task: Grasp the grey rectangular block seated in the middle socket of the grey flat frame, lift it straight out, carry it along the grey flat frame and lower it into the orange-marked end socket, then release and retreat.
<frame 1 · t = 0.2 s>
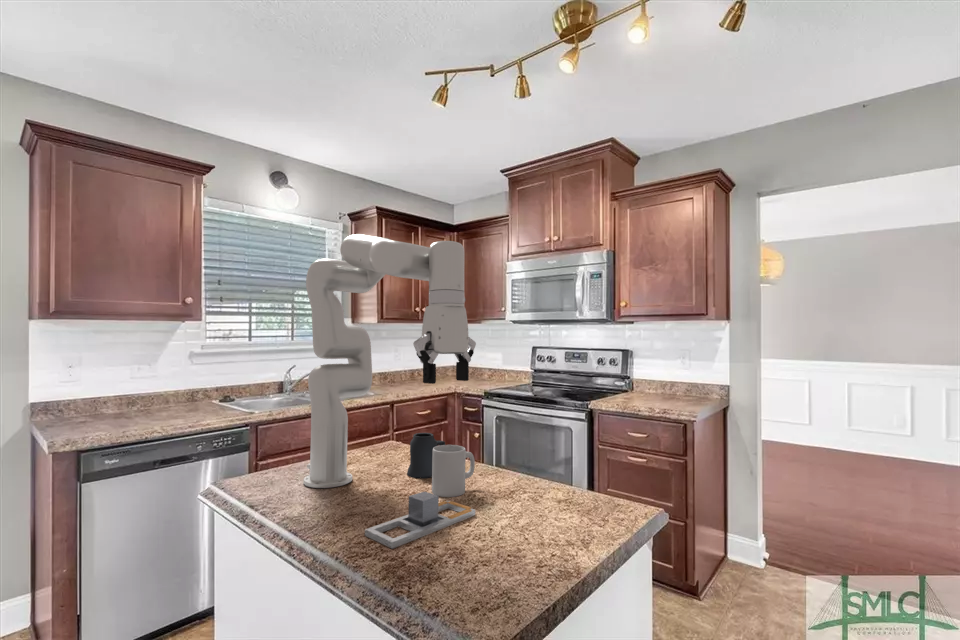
hand: (446, 381, 99), 30 cm above the countertop, fingers open, 9 cm apart
mug: (454, 491, 122), on the countertop
grey flat frame: (423, 524, 99), on the countertop
grey rectangular block: (423, 525, 99), resting in grey flat frame
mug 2: (426, 473, 137), on the countertop
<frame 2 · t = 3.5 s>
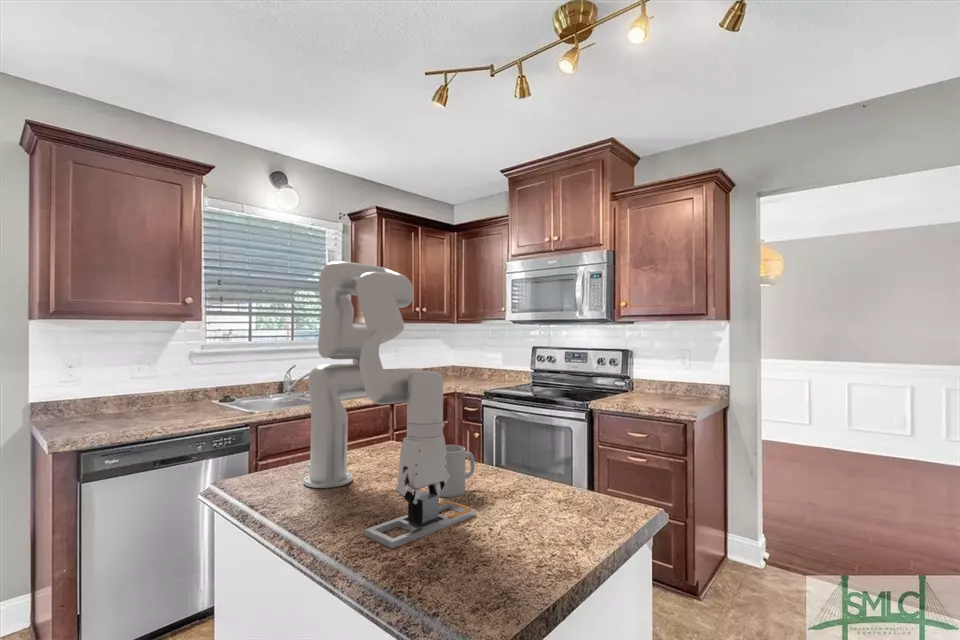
hand: (423, 517, 99), 2 cm above the countertop, fingers closed on grey rectangular block, 4 cm apart
grey rectangular block: (423, 524, 99), resting in grey flat frame, touching gripper
everything else where it was.
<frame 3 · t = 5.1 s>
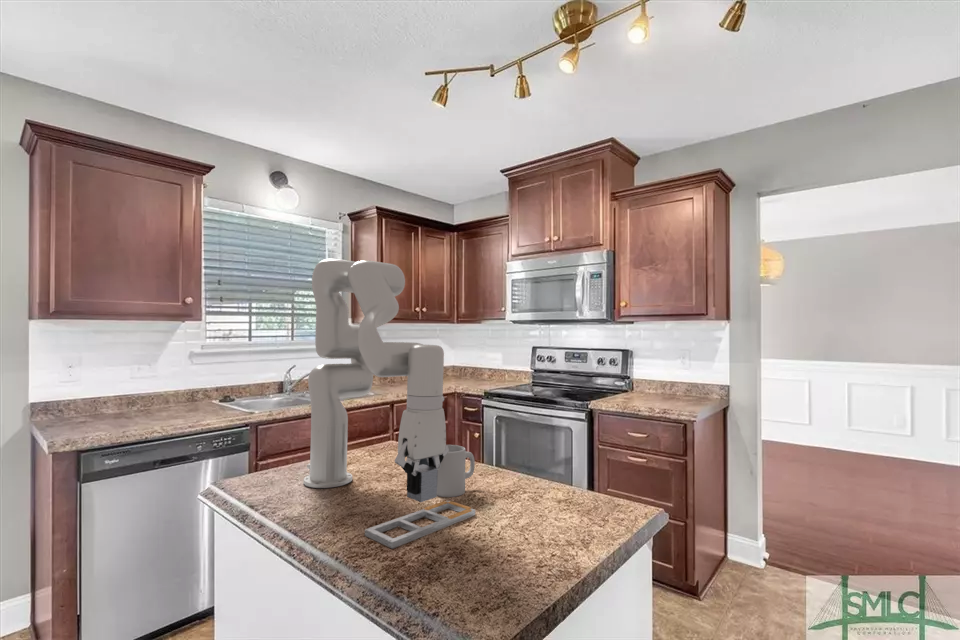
hand: (422, 489, 100), 7 cm above the countertop, fingers closed on grey rectangular block, 4 cm apart
grey rectangular block: (421, 497, 100), point 6 cm above the countertop, touching gripper
everything else where it was.
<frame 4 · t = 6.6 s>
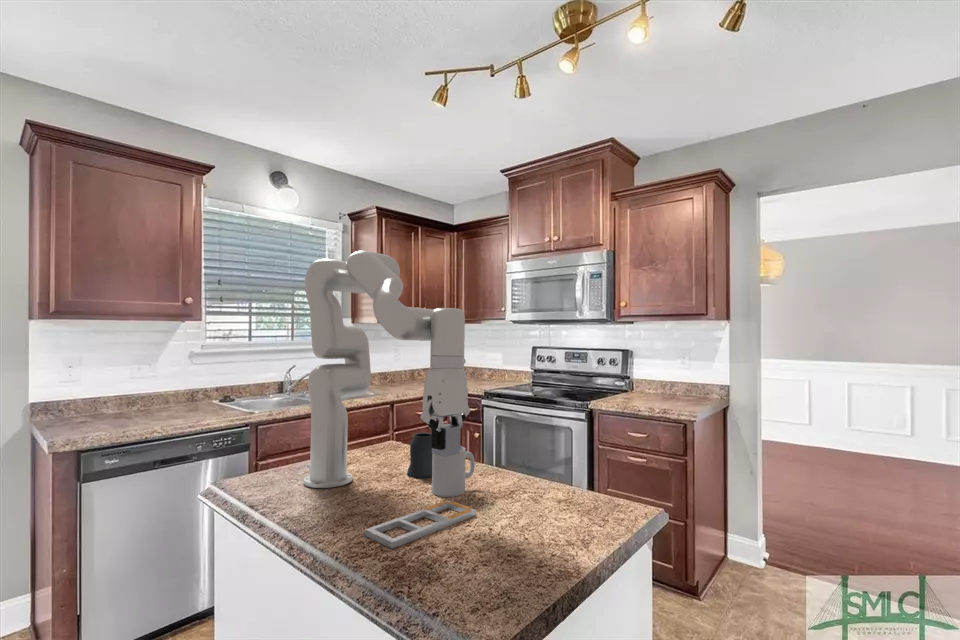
hand: (445, 446, 104), 15 cm above the countertop, fingers closed on grey rectangular block, 4 cm apart
grey rectangular block: (445, 453, 104), point 14 cm above the countertop, touching gripper
everything else where it was.
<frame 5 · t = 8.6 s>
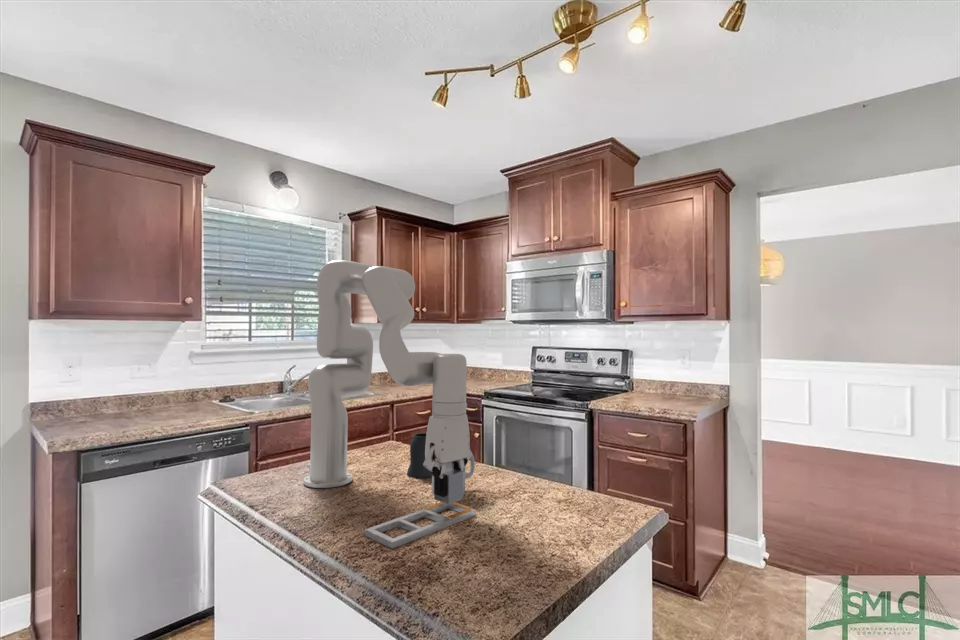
hand: (448, 491, 105), 5 cm above the countertop, fingers closed on grey rectangular block, 4 cm apart
grey rectangular block: (448, 499, 104), point 4 cm above the countertop, touching gripper
everything else where it was.
when the fingers open (2 cm above the countertop, at t = 10.1 s): grey rectangular block stays where it is, resting in grey flat frame.
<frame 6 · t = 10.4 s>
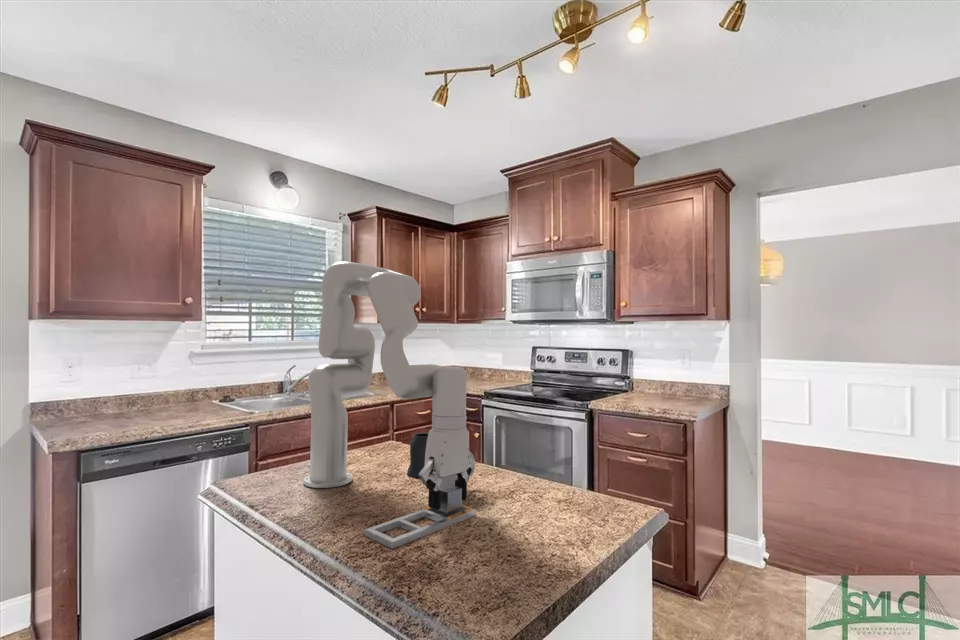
hand: (447, 502, 105), 3 cm above the countertop, fingers open, 7 cm apart
grey rectangular block: (447, 515, 104), resting in grey flat frame
everything else where it was.
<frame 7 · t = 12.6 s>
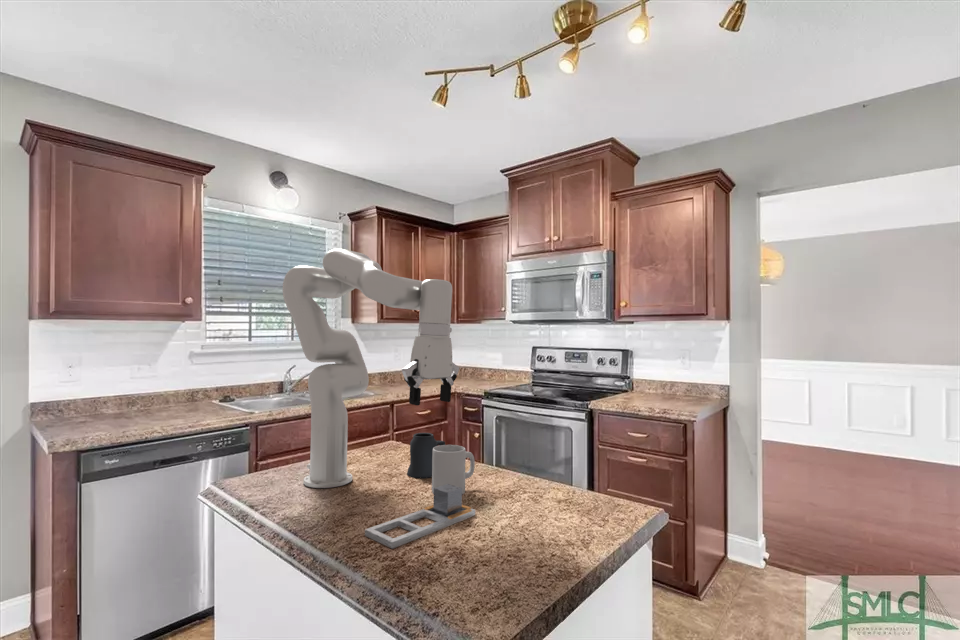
hand: (430, 402, 113), 24 cm above the countertop, fingers open, 9 cm apart
nothing on the countertop moved.
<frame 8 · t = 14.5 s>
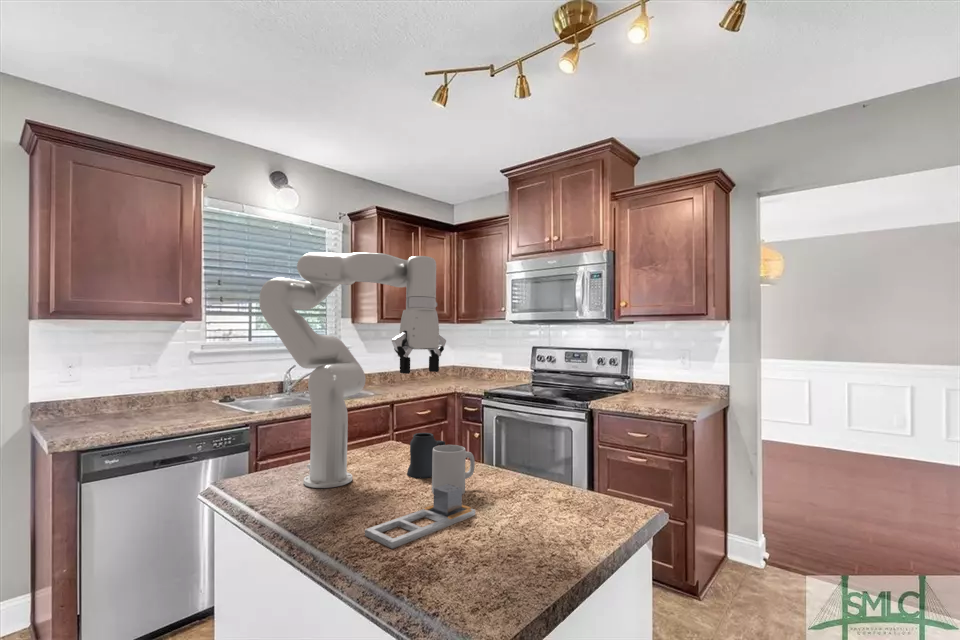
hand: (419, 372, 120), 30 cm above the countertop, fingers open, 9 cm apart
nothing on the countertop moved.
at the end: grey rectangular block 0.1 cm from the target spot on the grey flat frame, point 0.0 cm above the grey flat frame's base; grey rectangular block tilted 0°; the gripper is holding nothing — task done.
